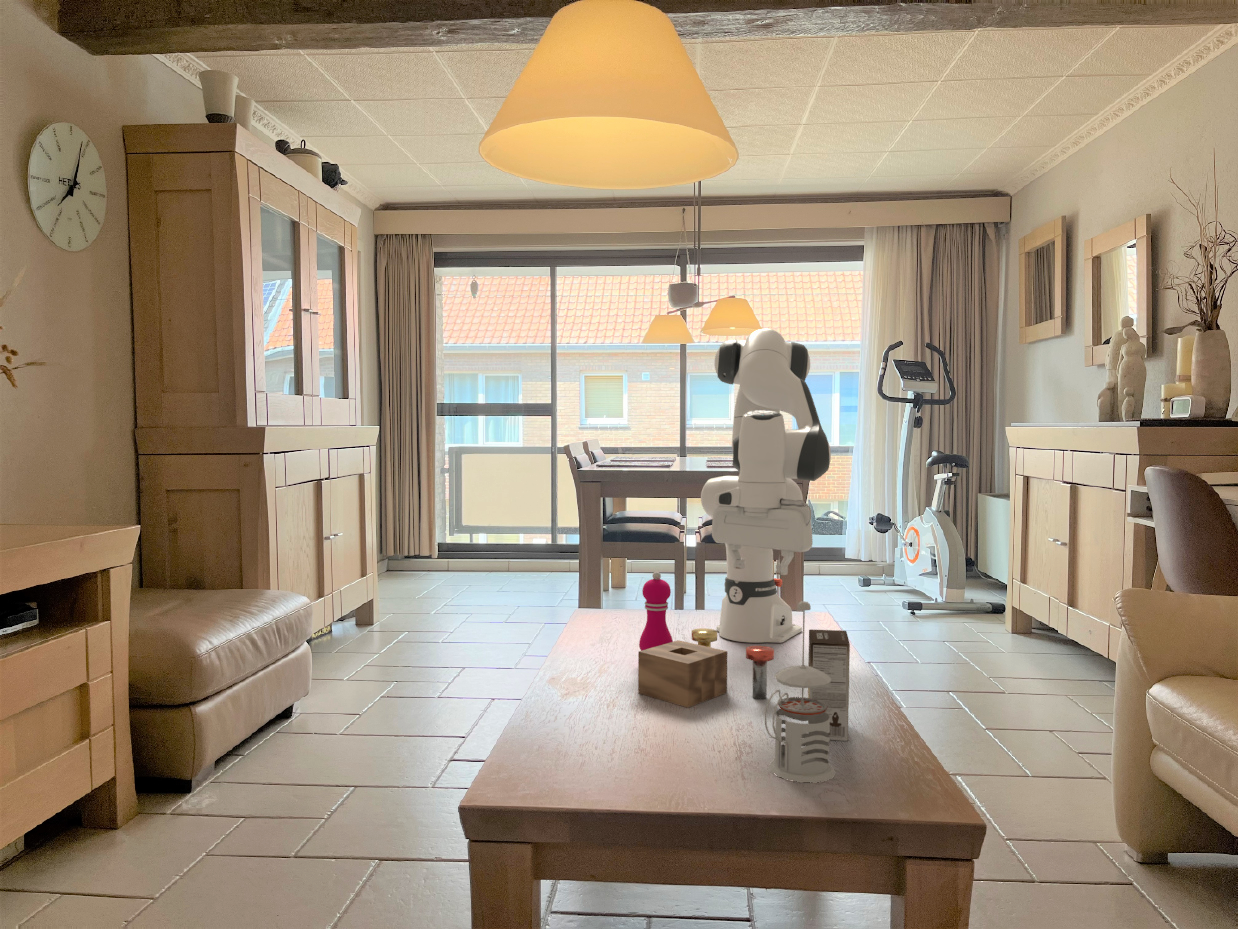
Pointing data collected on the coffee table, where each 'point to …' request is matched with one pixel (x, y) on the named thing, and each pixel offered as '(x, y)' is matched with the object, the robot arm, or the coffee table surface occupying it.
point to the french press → (801, 726)
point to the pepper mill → (655, 613)
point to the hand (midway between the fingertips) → (760, 571)
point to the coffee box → (832, 677)
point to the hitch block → (682, 673)
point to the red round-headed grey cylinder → (759, 668)
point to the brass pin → (704, 636)
